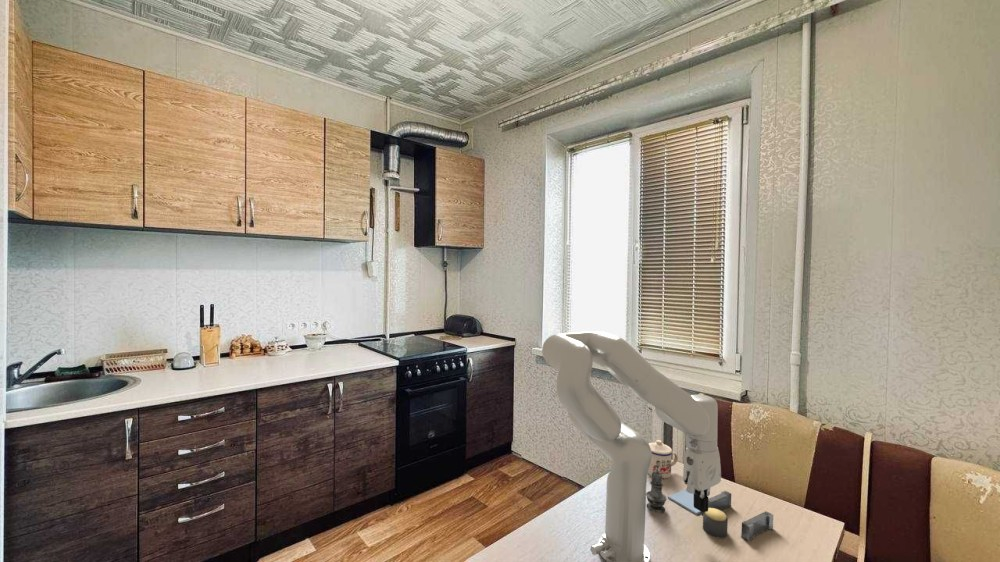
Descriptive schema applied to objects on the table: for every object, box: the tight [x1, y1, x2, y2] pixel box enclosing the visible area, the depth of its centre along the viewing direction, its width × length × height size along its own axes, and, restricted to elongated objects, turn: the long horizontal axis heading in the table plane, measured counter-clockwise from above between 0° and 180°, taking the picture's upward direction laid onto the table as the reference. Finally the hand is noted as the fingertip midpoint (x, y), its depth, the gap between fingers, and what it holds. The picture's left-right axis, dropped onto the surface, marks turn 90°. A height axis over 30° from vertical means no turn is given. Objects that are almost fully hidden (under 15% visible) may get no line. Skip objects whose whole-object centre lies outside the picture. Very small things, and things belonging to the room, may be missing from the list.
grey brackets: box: [700, 490, 774, 542], centre depth 116 cm, size 12×14×4 cm
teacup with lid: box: [648, 439, 679, 479], centre depth 143 cm, size 12×9×12 cm
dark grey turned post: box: [646, 469, 668, 514], centre depth 121 cm, size 6×6×12 cm
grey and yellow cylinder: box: [702, 508, 729, 539], centre depth 111 cm, size 6×6×5 cm
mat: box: [667, 489, 701, 516], centre depth 125 cm, size 10×10×1 cm
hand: (700, 509), depth 107 cm, fingers closed
